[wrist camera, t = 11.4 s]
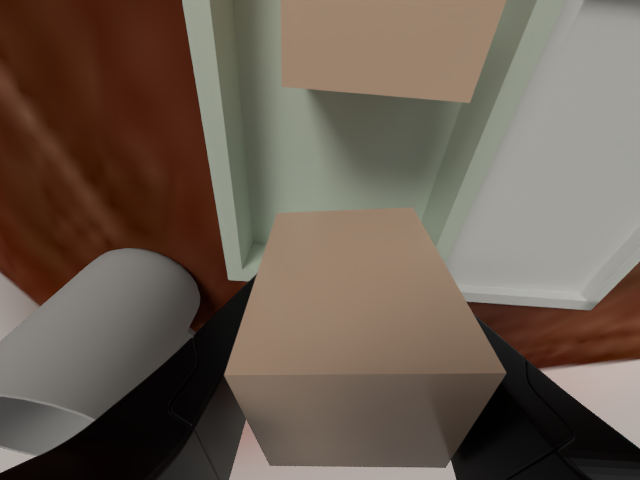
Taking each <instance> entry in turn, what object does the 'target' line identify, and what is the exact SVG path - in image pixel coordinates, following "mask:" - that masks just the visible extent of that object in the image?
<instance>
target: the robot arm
mask: <svg viewBox="0 0 640 480" xmlns="http://www.w3.org/2000/svg"><path fill="white" fill-rule="evenodd" d="M256 276H257V274H256V275H255V276H254V277H253V278H252V279H251V280H250V281H249V282H248V283H247V284H246V285H245V286H244V287H243V288H241V289H240V290H239V291H238V292H237V293H236V294H235V295H234V296H233V297H232V298H231V299H230V300H229V301H228V302H227V303H226V304H225V305H224V306H223V307H222V308H221V309H220V310H219V311H218V312H217V313H216V314H215V315H214V316H213V317H212V318H211V319H210V320H209V321H208V322H207V323H206V324H205V325H204V326H203V327H201V328H200V329H199V330H198V331H197V332H196V333H195V334H194V335H193V337H191V338H190V339H189V340H188V341H187V342H186V343H185V344H184V345H183V346H182V347H181V348H180V349H179V350H178V351H176V352H175V353H174V354H173V355H172V356H171V357H170V358H169V359H168V360H167V361H166V362H165V363H163V364H162V365H161V366H160V367H159V368H158V369H156V370H155V371H154V372H153V373H152V374H151V375H149V376H148V377H147V378H146V379H145V380H143V381H142V382H141V383H140V384H139V385H137V386H136V387H135V388H134V389H132V390H131V391H130V392H129V393H128V394H126V395H125V396H124V397H123V398H121V399H120V400H119V401H118V402H117V403H115V404H114V405H113V406H112V407H110V408H109V409H108V410H107V411H106V412H104V413H103V414H102V415H101V416H99V417H98V418H97V419H96V420H95V421H93V422H92V423H91V424H89V425H88V426H87V427H86V428H84V429H83V430H81V431H80V432H79V433H77V434H76V435H74V436H73V437H71V438H70V439H68V440H66V441H65V442H63V443H62V444H60V445H58V446H56V447H55V448H53V449H51V450H49V451H47V452H45V453H43V454H41V455H38V456H36V457H34V458H32V459H30V460H28V461H25V462H23V463H21V464H19V465H17V466H15V467H12V468H10V469H8V470H6V471H4V472H2V473H0V480H229V477H230V474H231V470H232V466H233V463H234V460H235V456H236V453H237V449H238V446H239V442H240V438H241V435H242V431H243V428H244V424H245V421H246V418H245V416H244V414H243V412H242V410H241V408H240V406H239V404H238V402H237V400H236V398H235V396H234V394H233V392H232V390H231V388H230V386H229V384H228V382H227V380H226V378H225V376H224V374H225V371H226V368H227V365H228V362H229V358H230V355H231V352H232V349H233V346H234V343H235V340H236V337H237V334H238V331H239V328H240V325H241V322H242V319H243V316H244V312H245V309H246V306H247V303H248V300H249V297H250V294H251V291H252V288H253V285H254V282H255V279H256ZM473 315H474V314H473ZM474 316H475V315H474ZM475 318H476V320H477V322H478V323H479V325H480V327H481V329H482V330H483V332H484V334H485V336H486V337H487V339H488V341H489V343H490V345H491V346H492V348H493V350H494V352H495V353H496V355H497V357H498V359H499V360H500V362H501V364H502V366H503V368H504V369H505V371H506V375H505V376H504V378H503V380H502V381H501V383H500V384H499V386H498V387H497V389H496V390H495V392H494V393H493V395H492V397H491V398H490V400H489V401H488V403H487V404H486V406H485V407H484V409H483V410H482V412H481V414H480V415H479V417H478V418H477V420H476V421H475V423H474V424H473V426H472V427H471V429H470V431H469V432H468V434H467V435H466V437H465V438H464V440H463V441H462V443H461V444H460V446H459V448H458V449H457V451H456V452H455V454H454V455H453V457H452V458H451V462H452V465H453V469H454V472H455V476H456V480H640V449H639V448H638V447H637V446H636V445H634V444H633V443H632V442H630V441H629V440H628V439H626V438H625V437H624V436H623V435H621V434H620V433H619V432H617V431H616V430H614V429H613V428H612V427H611V426H609V425H608V424H607V423H606V422H604V421H603V420H601V419H600V418H599V417H598V416H596V415H595V414H594V413H592V412H591V411H590V410H588V409H587V408H586V407H585V406H583V405H582V404H581V403H579V402H578V401H577V400H576V399H574V398H573V397H572V396H570V395H569V394H568V393H567V392H565V391H564V390H563V389H562V388H560V387H559V386H558V385H557V384H556V383H554V382H553V381H552V380H551V379H550V378H548V377H547V376H546V375H545V374H544V373H542V372H541V371H540V370H539V369H538V368H536V367H535V366H534V365H533V364H532V363H531V362H529V361H528V360H526V359H525V357H523V356H522V355H521V354H520V353H519V352H518V351H516V350H515V349H514V348H513V347H512V346H511V345H509V344H508V343H507V342H506V341H505V340H503V339H502V338H501V337H500V336H499V335H498V334H496V333H495V332H494V331H493V330H492V329H491V328H489V327H488V326H487V325H486V324H485V323H484V322H482V321H481V320H480V319H479V318H478V317H477V316H475Z"/></svg>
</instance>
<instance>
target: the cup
mask: <svg viewBox="0 0 640 480" xmlns="http://www.w3.org/2000/svg"><path fill="white" fill-rule="evenodd" d="M199 305H200V294H199V290H198V287H197V284H196V282H195V281H194V279H193V278H192V276H191V275H190V274H189V273H188V272H187V271H186V270H185V269H184V268H183V267H182V266H181V265H179V264H178V263H176V262H175V261H173V260H172V259H170V258H168V257H166V256H164V255H161V254H159V253H157V252H153V251H149V250H145V249H136V248H125V249H118V250H113V251H109V252H107V253H105V254H103V255H101V256H99V257H98V258H97V259H95V260H94V261H93V262H91V263H90V264H89V265H88V266H87V267H85V268H84V269H83V270H82V271H81V272H80V273H78V274H77V275H76V276H75V277H74V278H73V279H72V280H70V281H69V282H68V283H67V284H66V285H65V286H64V287H62V288H61V289H60V290H59V291H58V292H57V293H55V294H54V295H53V296H52V297H51V298H50V299H49V300H47V301H46V302H45V303H44V304H43V305H42V306H41V307H39V308H38V309H37V310H36V311H35V312H34V313H32V314H31V315H30V316H29V317H28V318H27V319H26V320H24V321H23V322H22V323H21V324H20V325H19V326H18V327H16V328H15V329H14V330H13V331H12V332H11V333H9V334H8V335H7V336H6V337H5V338H4V339H3V340H1V341H0V447H1V448H4V449H8V450H12V451H17V452H20V453H24V454H29V455H34V456H38V455H41V454H43V453H45V452H47V451H49V450H51V449H53V448H55V447H56V446H58V445H60V444H62V443H63V442H65V441H66V440H68V439H70V438H71V437H73V436H74V435H76V434H77V433H79V432H80V431H81V430H83V429H84V428H86V427H87V426H88V425H89V424H91V423H92V422H93V421H95V420H96V419H97V418H98V417H99V416H101V415H102V414H103V413H104V412H106V411H107V410H108V409H109V408H110V407H112V406H113V405H114V404H115V403H117V402H118V401H119V400H120V399H121V398H123V397H124V396H125V395H126V394H128V393H129V392H130V391H131V390H132V389H134V388H135V387H136V386H137V385H139V384H140V383H141V382H142V381H143V380H145V379H146V378H147V377H148V376H149V375H151V374H152V373H153V372H154V371H155V370H156V369H158V368H159V367H160V366H161V365H162V364H163V363H165V362H166V361H167V360H168V359H169V358H170V357H171V356H172V355H173V354H174V353H175V352H176V351H178V350H179V349H180V348H181V347H182V346H183V345H184V344H185V343H186V342H187V341H188V340H189V339H190V338H191V337H193V335H194V334H195V333H196V332H195V331H194V330H192V329H191V328H190V325H191V323H192V321H193V319H194V317H195V315H196V313H197V310H198V308H199Z"/></svg>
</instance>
